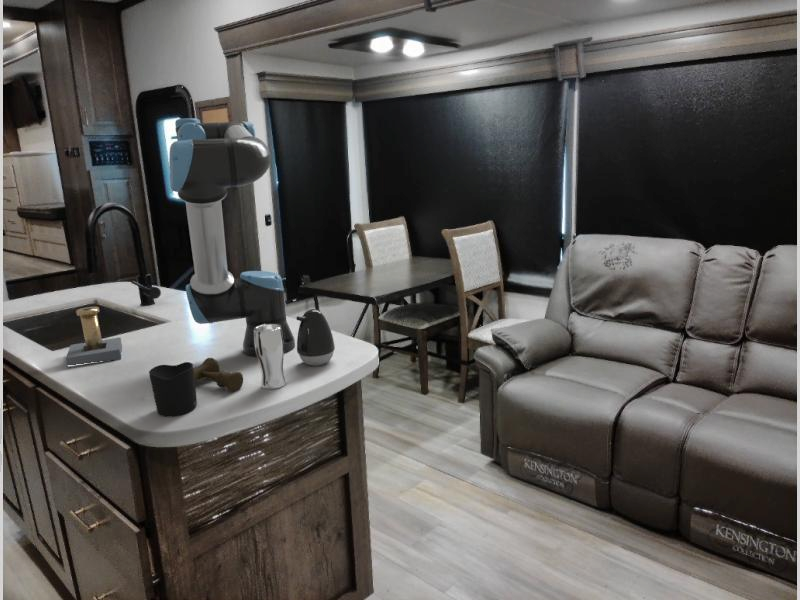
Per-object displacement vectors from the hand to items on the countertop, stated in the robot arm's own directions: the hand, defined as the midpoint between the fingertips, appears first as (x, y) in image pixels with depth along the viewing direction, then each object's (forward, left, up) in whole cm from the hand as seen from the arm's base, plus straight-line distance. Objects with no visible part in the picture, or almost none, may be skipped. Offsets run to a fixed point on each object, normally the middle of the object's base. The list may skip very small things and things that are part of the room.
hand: (203, 236), depth 191 cm
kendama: (-51, +7, -32) cm, 61 cm away
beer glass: (-60, -7, -32) cm, 68 cm away
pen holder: (-63, +16, -32) cm, 72 cm away
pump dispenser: (-50, -21, -32) cm, 63 cm away
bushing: (-8, +36, -32) cm, 49 cm away
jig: (-8, +36, -32) cm, 49 cm away
